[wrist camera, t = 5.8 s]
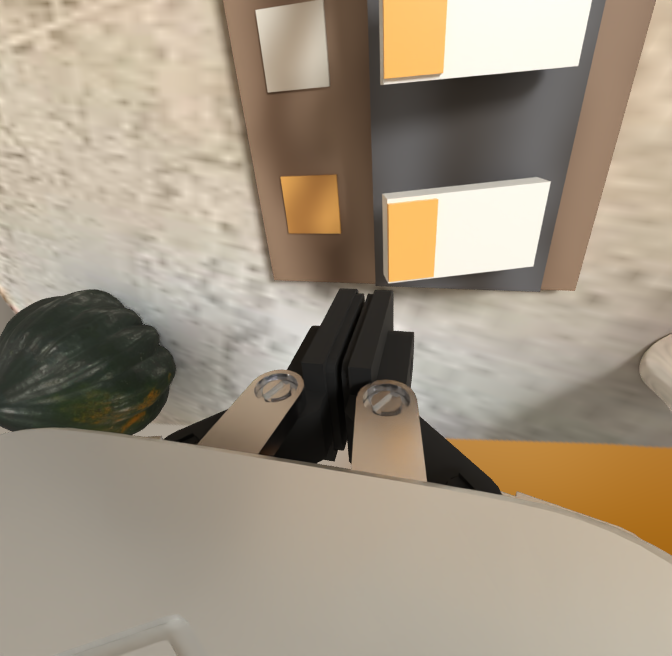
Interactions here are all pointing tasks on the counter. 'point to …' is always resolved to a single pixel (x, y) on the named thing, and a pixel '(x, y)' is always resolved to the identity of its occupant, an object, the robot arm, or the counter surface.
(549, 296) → the counter surface
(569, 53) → the block
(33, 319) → the squash
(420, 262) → the block
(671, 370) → the beige tall curved piece
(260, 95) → the switch unit
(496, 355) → the counter surface
